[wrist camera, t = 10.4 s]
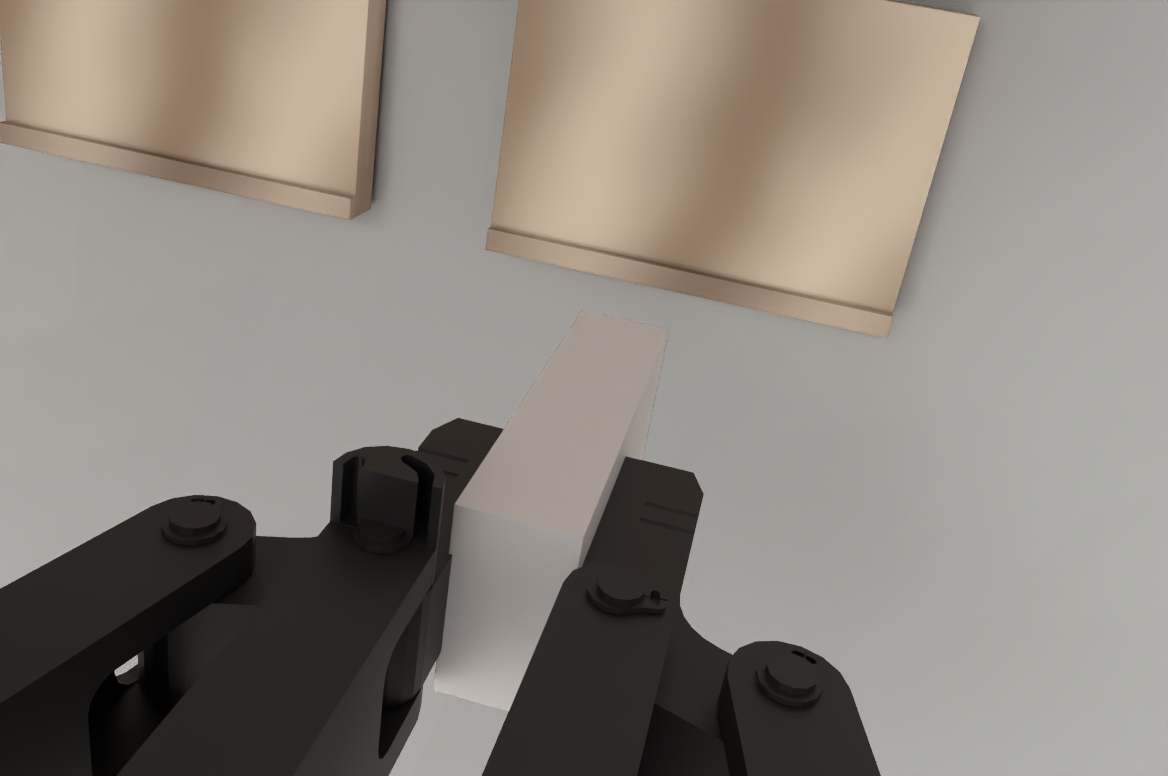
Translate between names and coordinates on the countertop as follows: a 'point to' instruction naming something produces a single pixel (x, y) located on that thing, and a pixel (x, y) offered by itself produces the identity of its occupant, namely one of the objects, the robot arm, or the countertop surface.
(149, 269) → the countertop surface
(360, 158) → the plank
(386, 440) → the countertop surface
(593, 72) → the plank
